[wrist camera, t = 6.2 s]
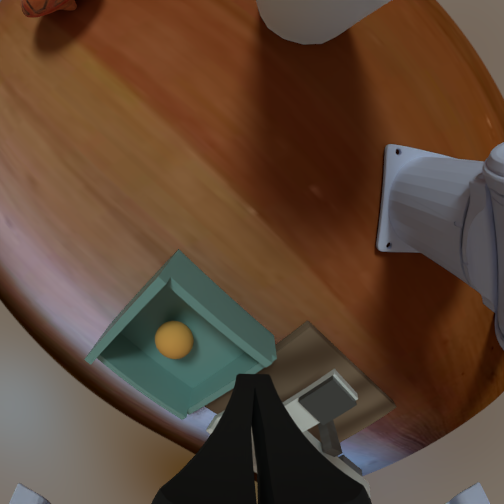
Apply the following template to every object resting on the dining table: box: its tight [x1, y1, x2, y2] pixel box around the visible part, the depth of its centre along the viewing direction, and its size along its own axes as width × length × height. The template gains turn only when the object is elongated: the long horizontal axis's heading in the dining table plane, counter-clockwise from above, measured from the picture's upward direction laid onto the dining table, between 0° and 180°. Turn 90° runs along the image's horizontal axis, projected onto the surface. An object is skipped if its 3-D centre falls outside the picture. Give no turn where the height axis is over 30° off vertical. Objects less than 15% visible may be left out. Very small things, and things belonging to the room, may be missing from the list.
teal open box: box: [85, 249, 277, 419], centre depth 20 cm, size 10×10×5 cm
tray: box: [206, 369, 371, 497], centre depth 19 cm, size 16×11×5 cm, turn 44°
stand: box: [205, 321, 396, 457], centre depth 22 cm, size 17×13×8 cm
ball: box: [155, 321, 194, 359], centre depth 20 cm, size 3×3×3 cm
